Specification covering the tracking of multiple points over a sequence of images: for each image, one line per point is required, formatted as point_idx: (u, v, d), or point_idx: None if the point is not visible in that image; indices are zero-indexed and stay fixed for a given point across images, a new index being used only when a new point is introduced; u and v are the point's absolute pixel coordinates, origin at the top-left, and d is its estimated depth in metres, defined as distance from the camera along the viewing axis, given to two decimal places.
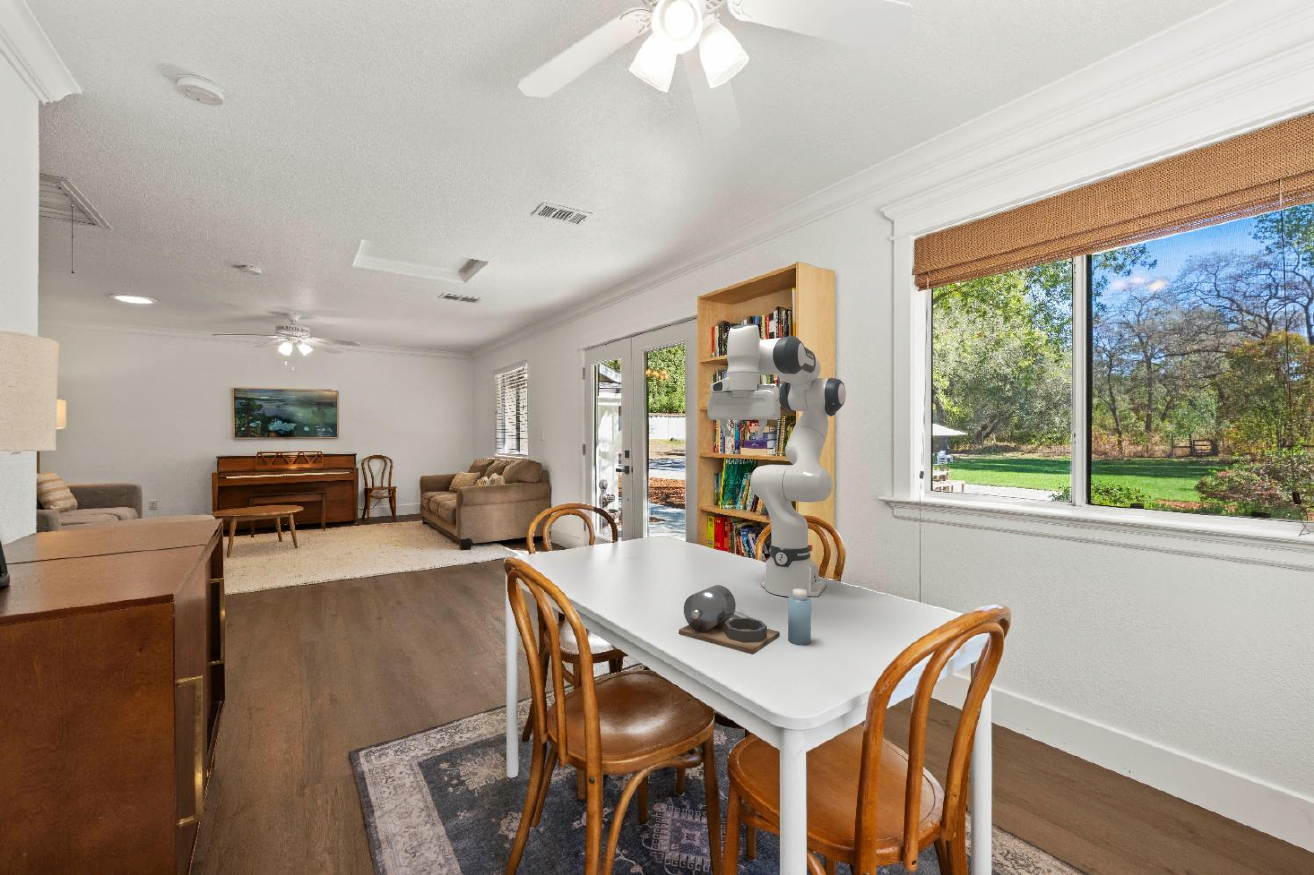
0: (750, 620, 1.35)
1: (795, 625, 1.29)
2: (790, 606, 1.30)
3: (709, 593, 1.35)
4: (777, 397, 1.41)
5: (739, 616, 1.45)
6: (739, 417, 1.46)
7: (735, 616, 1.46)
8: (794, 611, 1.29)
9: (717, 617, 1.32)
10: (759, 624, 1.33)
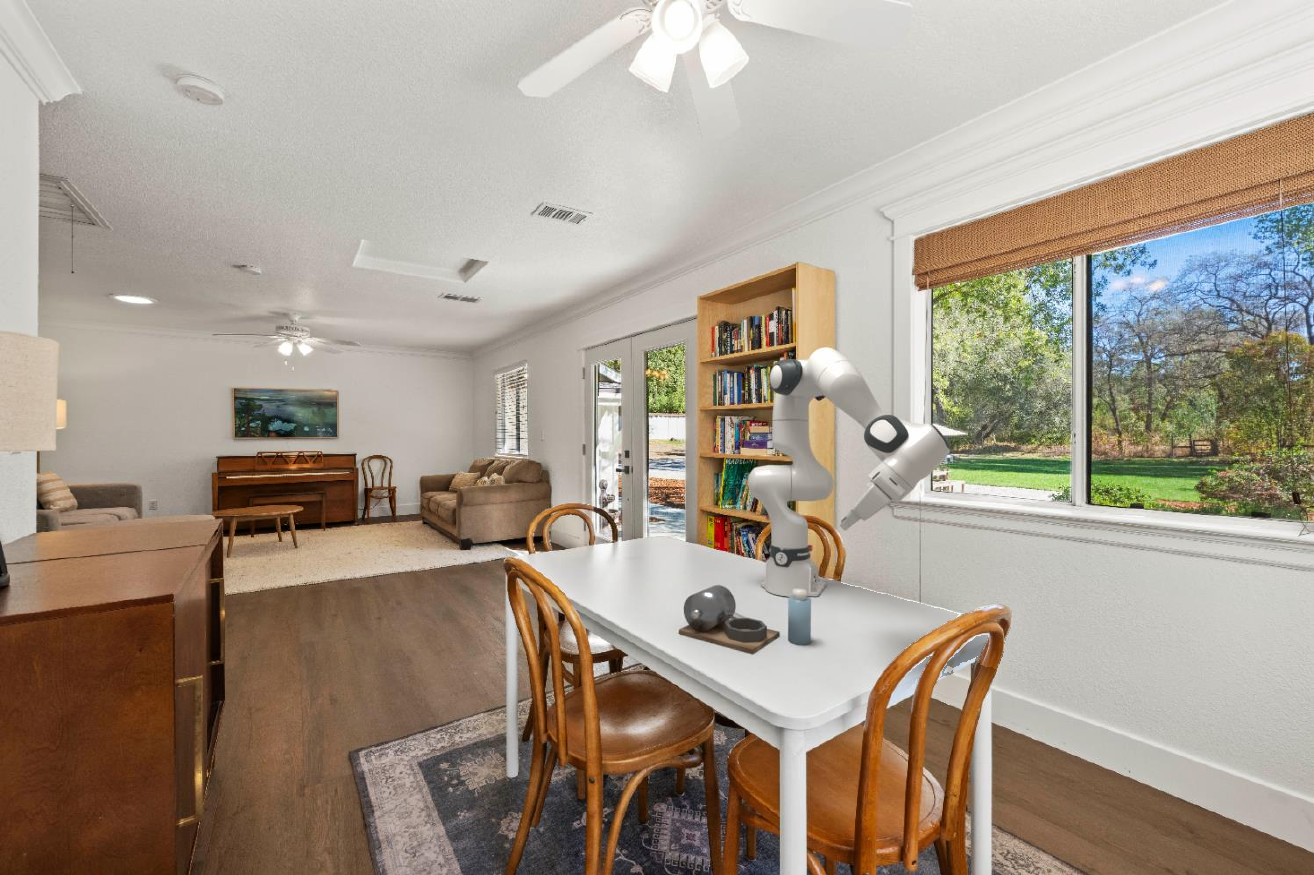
0: (750, 620, 1.35)
1: (795, 625, 1.29)
2: (790, 606, 1.30)
3: (709, 593, 1.35)
4: None
5: (736, 617, 1.44)
6: None
7: (732, 617, 1.45)
8: (794, 611, 1.29)
9: (717, 617, 1.32)
10: (759, 624, 1.33)
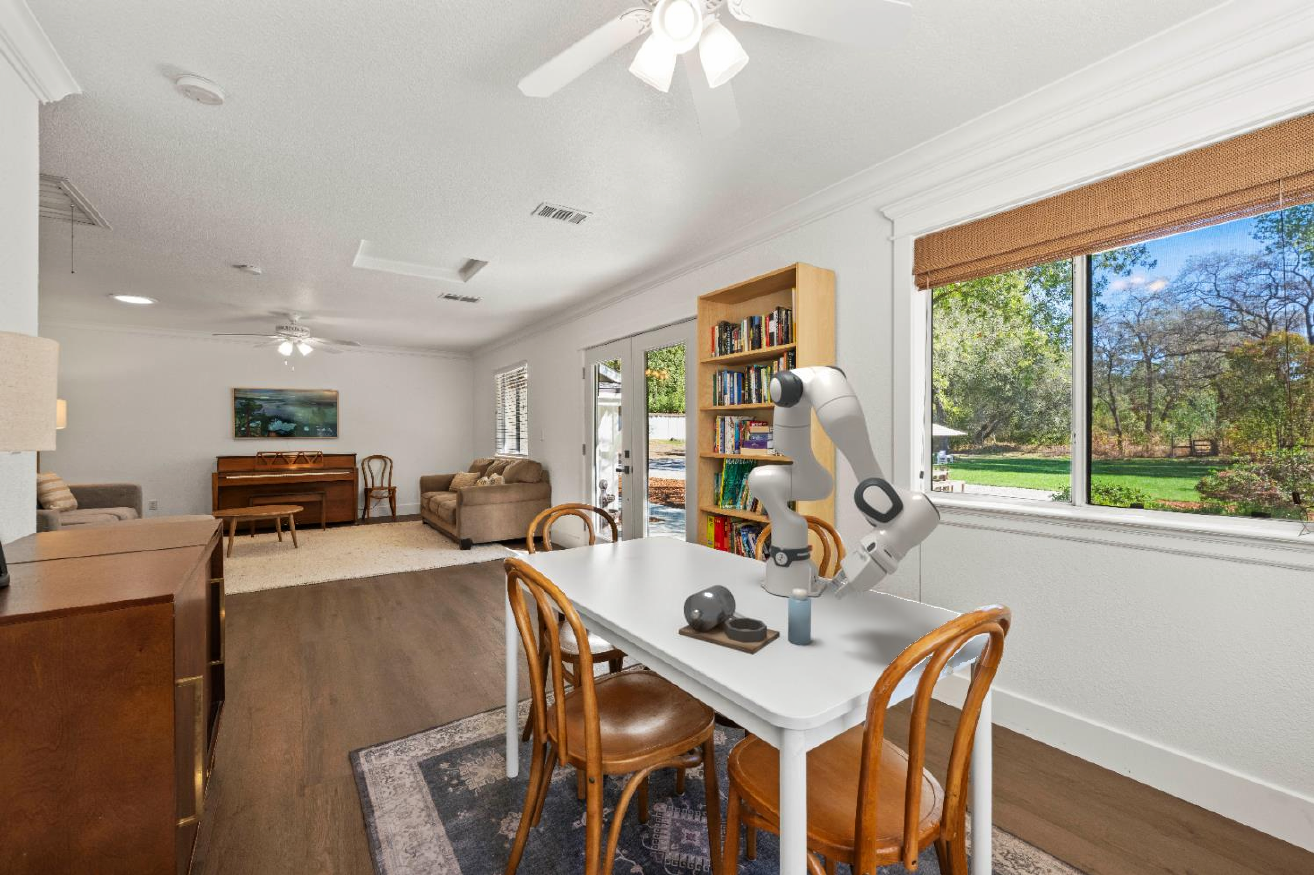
0: (750, 620, 1.35)
1: (795, 625, 1.29)
2: (790, 606, 1.30)
3: (709, 593, 1.35)
4: None
5: None
6: None
7: (734, 617, 1.45)
8: (794, 611, 1.29)
9: (717, 617, 1.32)
10: (759, 624, 1.33)
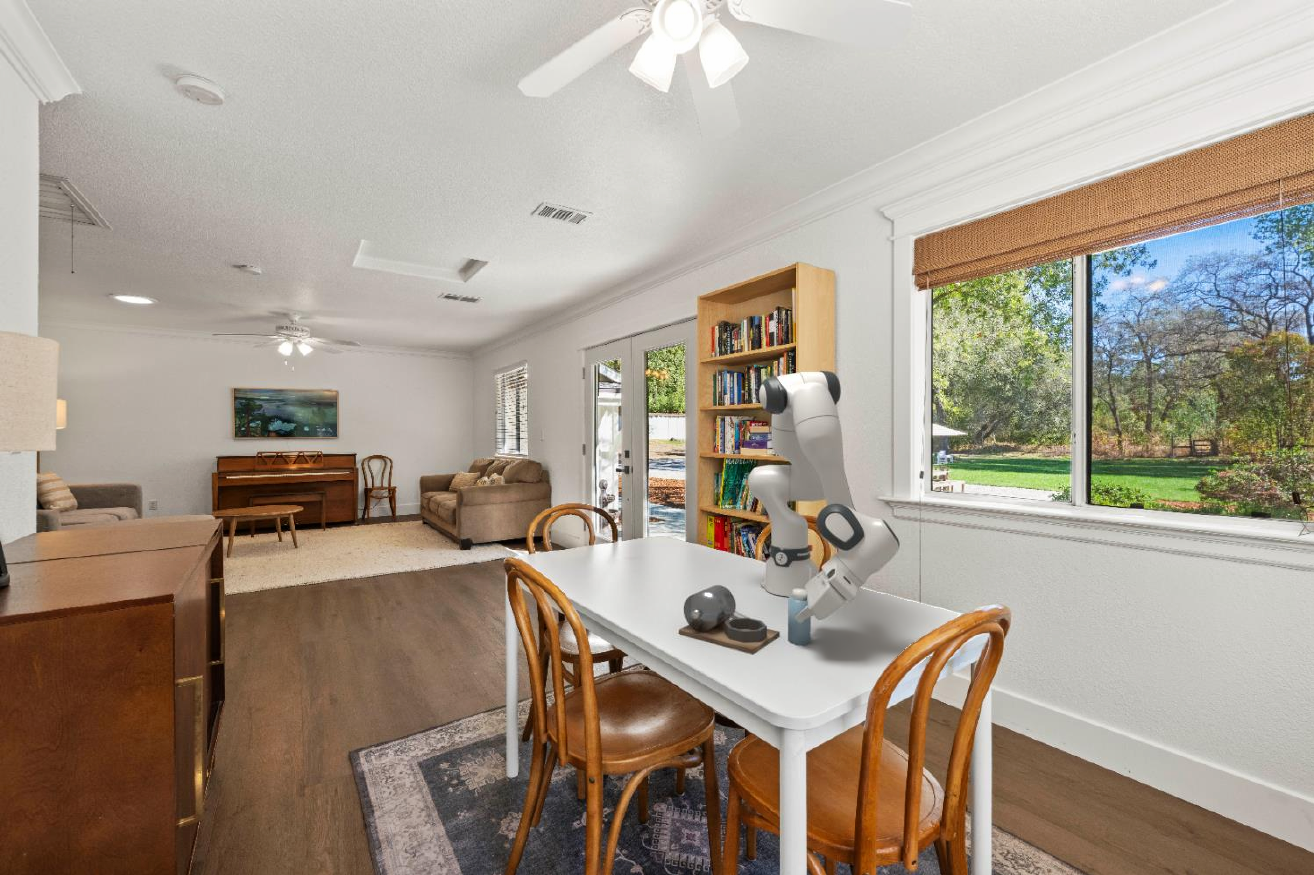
0: (750, 620, 1.35)
1: (795, 625, 1.29)
2: (790, 606, 1.30)
3: (709, 593, 1.35)
4: None
5: None
6: None
7: None
8: (794, 611, 1.29)
9: (717, 617, 1.32)
10: (759, 624, 1.33)
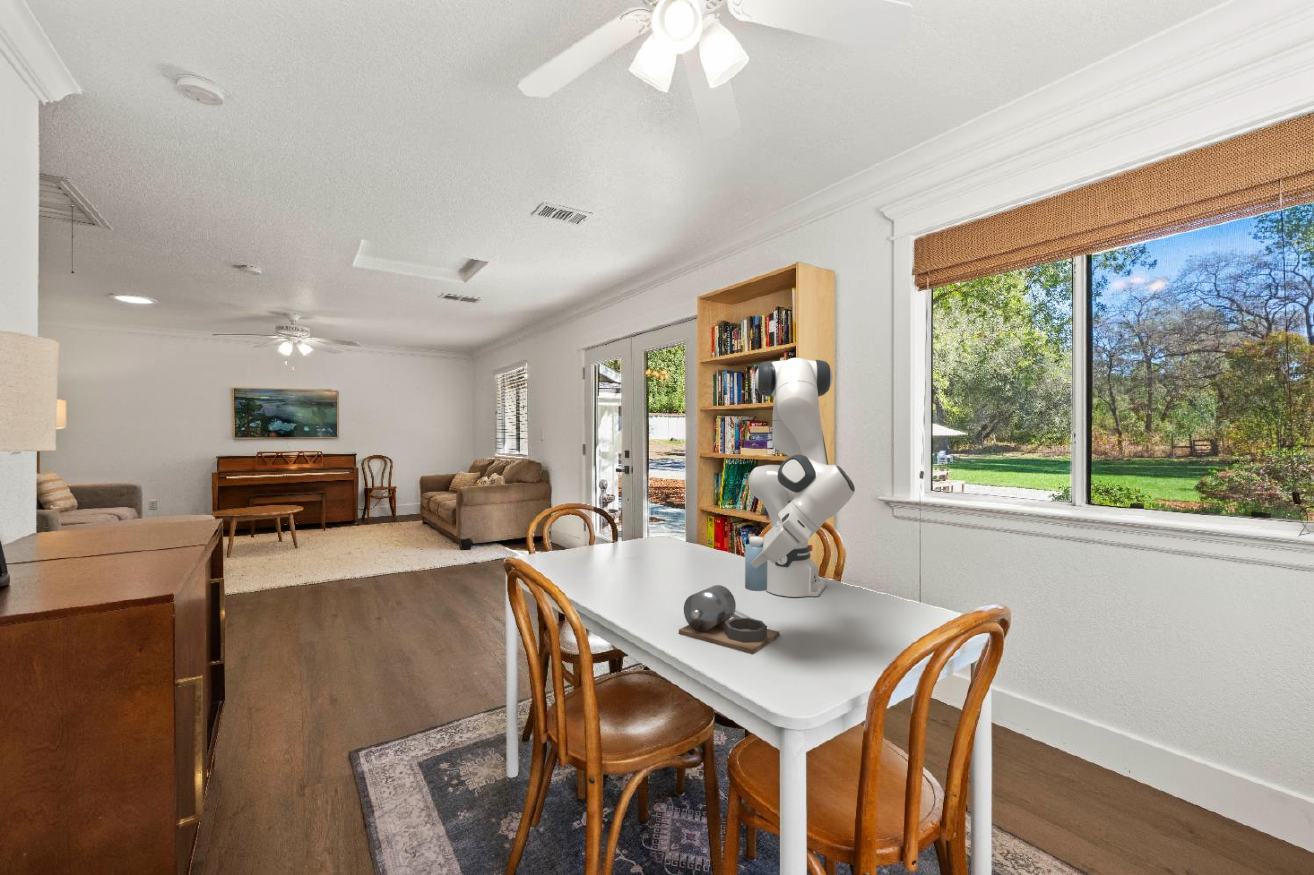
0: (750, 620, 1.35)
1: (751, 572, 1.29)
2: (747, 553, 1.30)
3: (709, 593, 1.35)
4: None
5: None
6: None
7: None
8: (750, 557, 1.29)
9: (717, 617, 1.32)
10: (759, 624, 1.33)
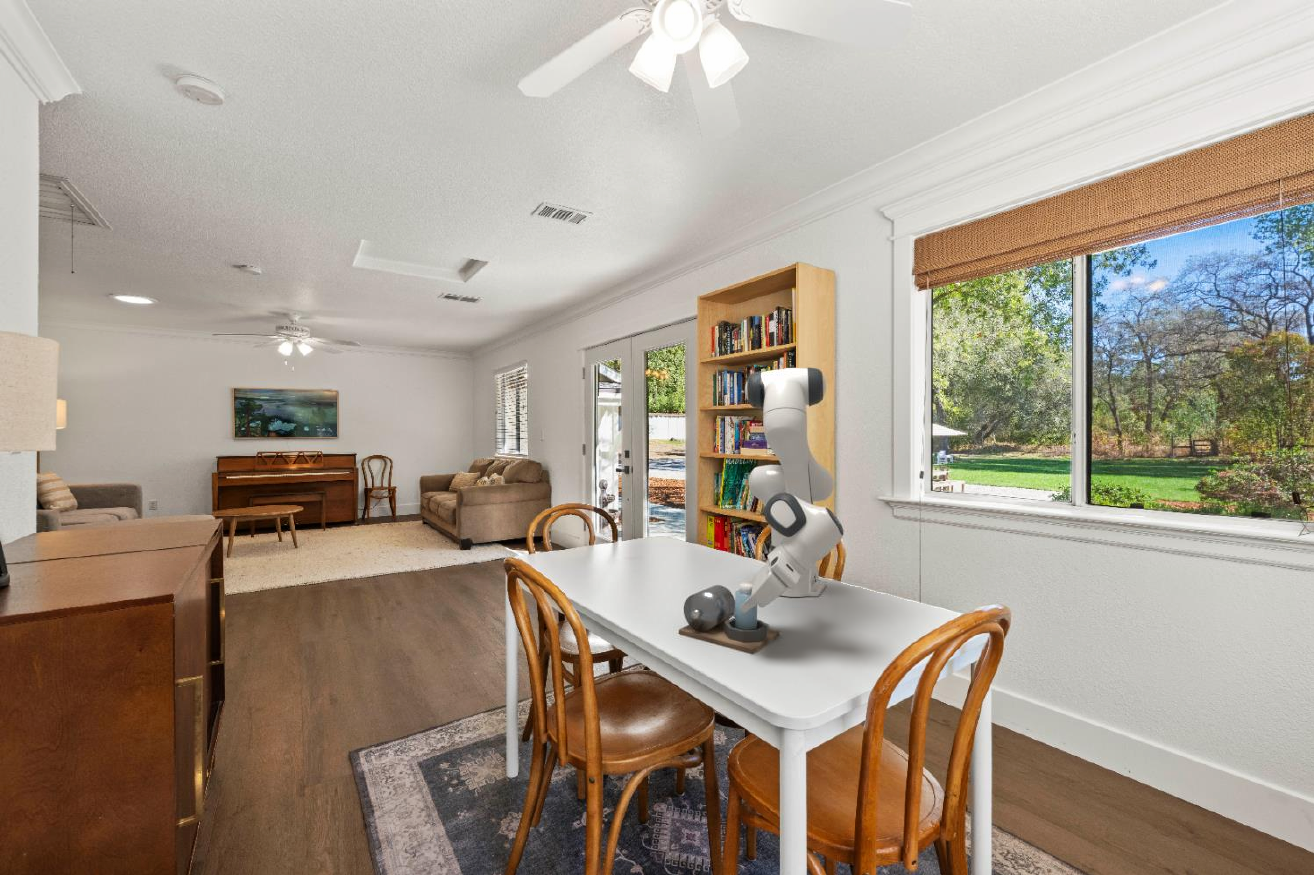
0: None
1: (741, 619, 1.30)
2: (736, 600, 1.31)
3: (709, 593, 1.35)
4: None
5: None
6: None
7: None
8: None
9: (717, 617, 1.32)
10: (759, 624, 1.33)
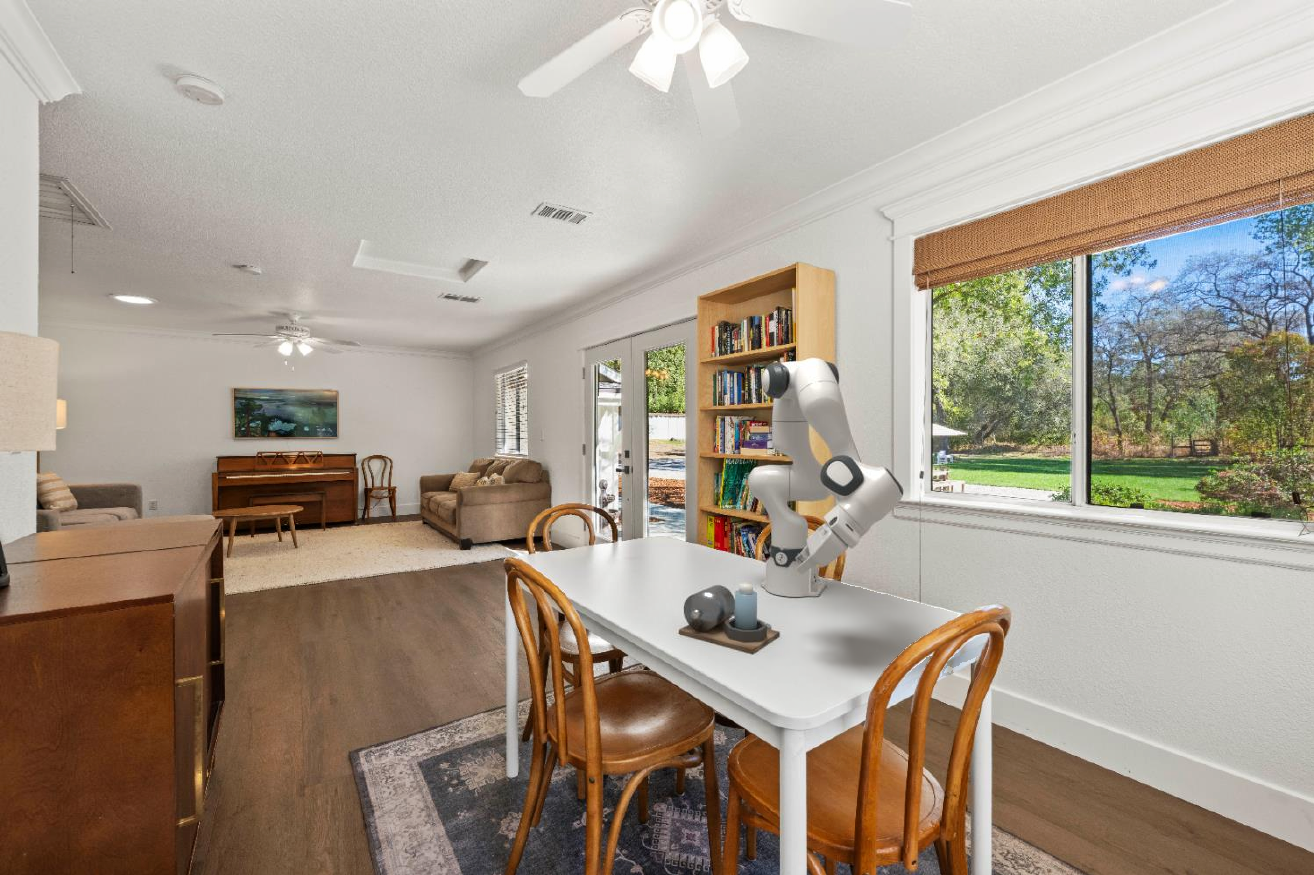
0: None
1: (740, 619, 1.30)
2: (736, 600, 1.31)
3: (709, 593, 1.35)
4: None
5: None
6: None
7: None
8: (740, 605, 1.30)
9: (717, 617, 1.32)
10: (759, 624, 1.33)
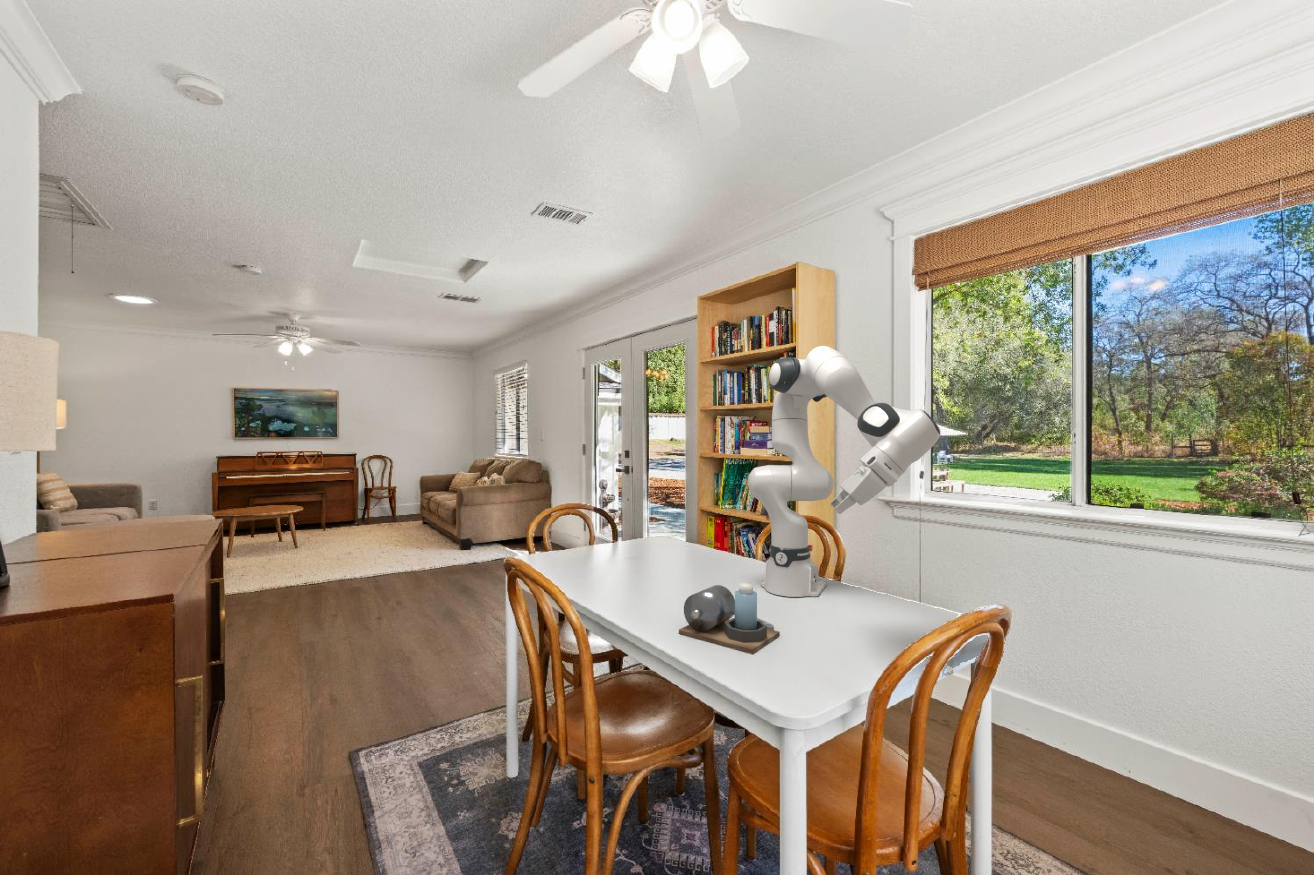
0: None
1: (740, 619, 1.30)
2: (736, 600, 1.31)
3: (709, 593, 1.35)
4: None
5: None
6: None
7: None
8: (740, 605, 1.30)
9: (717, 617, 1.32)
10: (759, 624, 1.33)
